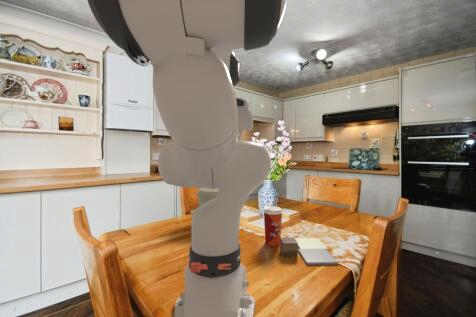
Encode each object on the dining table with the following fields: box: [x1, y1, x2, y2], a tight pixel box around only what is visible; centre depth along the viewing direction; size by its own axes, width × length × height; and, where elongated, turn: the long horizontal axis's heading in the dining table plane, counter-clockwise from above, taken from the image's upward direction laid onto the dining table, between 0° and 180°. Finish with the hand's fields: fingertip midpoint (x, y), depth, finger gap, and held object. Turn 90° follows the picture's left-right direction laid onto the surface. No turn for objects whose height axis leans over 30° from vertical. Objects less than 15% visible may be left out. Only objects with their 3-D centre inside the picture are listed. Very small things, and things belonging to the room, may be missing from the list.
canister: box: [195, 188, 219, 207], centre depth 113 cm, size 18×18×21 cm
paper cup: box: [262, 205, 284, 247], centre depth 89 cm, size 8×8×14 cm
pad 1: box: [294, 237, 329, 251], centre depth 87 cm, size 10×10×1 cm
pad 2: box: [298, 248, 339, 266], centre depth 77 cm, size 10×10×1 cm
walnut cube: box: [279, 236, 299, 258], centre depth 80 cm, size 5×5×5 cm
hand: (223, 144), depth 77 cm, fingers open, 8 cm apart
